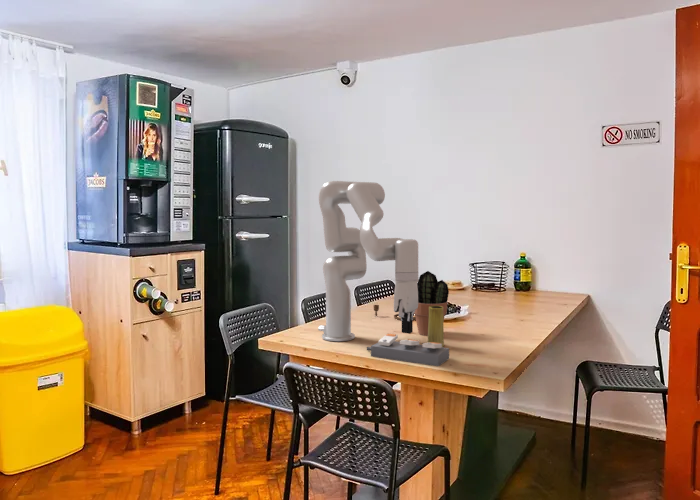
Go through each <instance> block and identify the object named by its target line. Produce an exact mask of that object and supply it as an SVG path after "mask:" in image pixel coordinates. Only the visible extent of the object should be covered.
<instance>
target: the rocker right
mask: <svg viewBox="0 0 700 500" xmlns="http://www.w3.org/2000/svg"><path fill="white" fill-rule="evenodd" d="M422 345H423V346H422V347H426V348H442V344H441V343H435V342H429V343H428V342H424V343H422Z"/></svg>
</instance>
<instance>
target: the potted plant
mask: <svg viewBox="0 0 700 500" xmlns="http://www.w3.org/2000/svg"><path fill="white" fill-rule="evenodd" d="M448 285H449V284H448V283H446V281H444V280H443V279H441V280H439V281H438V278H437V276H436V274H434V273H432V272H431V271H429V270H427V271H425V272H423V273H422V274H420V275H419V276H418V282H417V286H418V308H417V309H416V310H415V312H414V314H415V317H414V318H416V320H415V322H416V327H417V333H418V335H420V336H426V337H428V322H429V306H442V307H443V322H444V320H445V316H446V315H447V313H448V311H447V310H448V300H449V294H450V291H449V286H448Z"/></svg>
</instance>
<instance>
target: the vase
mask: <svg viewBox="0 0 700 500" xmlns="http://www.w3.org/2000/svg"><path fill="white" fill-rule="evenodd" d="M444 335H445V333H444V321H443V307H442V306H429V322H428V336H427V343H429V342H435V343H441V344H442V347H443V348H445V347H444V346H445V343H444V342H445V341H444V339H445V338H444Z"/></svg>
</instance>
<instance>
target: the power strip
mask: <svg viewBox="0 0 700 500" xmlns="http://www.w3.org/2000/svg"><path fill="white" fill-rule="evenodd" d="M422 346H423V344H420V343H419V345H404V344H400V341H397V340H395V341H394V342H393V343H392V344H391V345H390V346H386V345H378V342H376V343H375V344H372V345H371V346H366V351H370V357H375V358H382V359H388V360H392V361H401V362H407V363H414V364H419V365H426V366H427V365H429V366H434V367H439V366H441V365H442V364H444V363H445V362H447V361H448V360H450V348H449V347H442V348H426V347H422Z"/></svg>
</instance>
